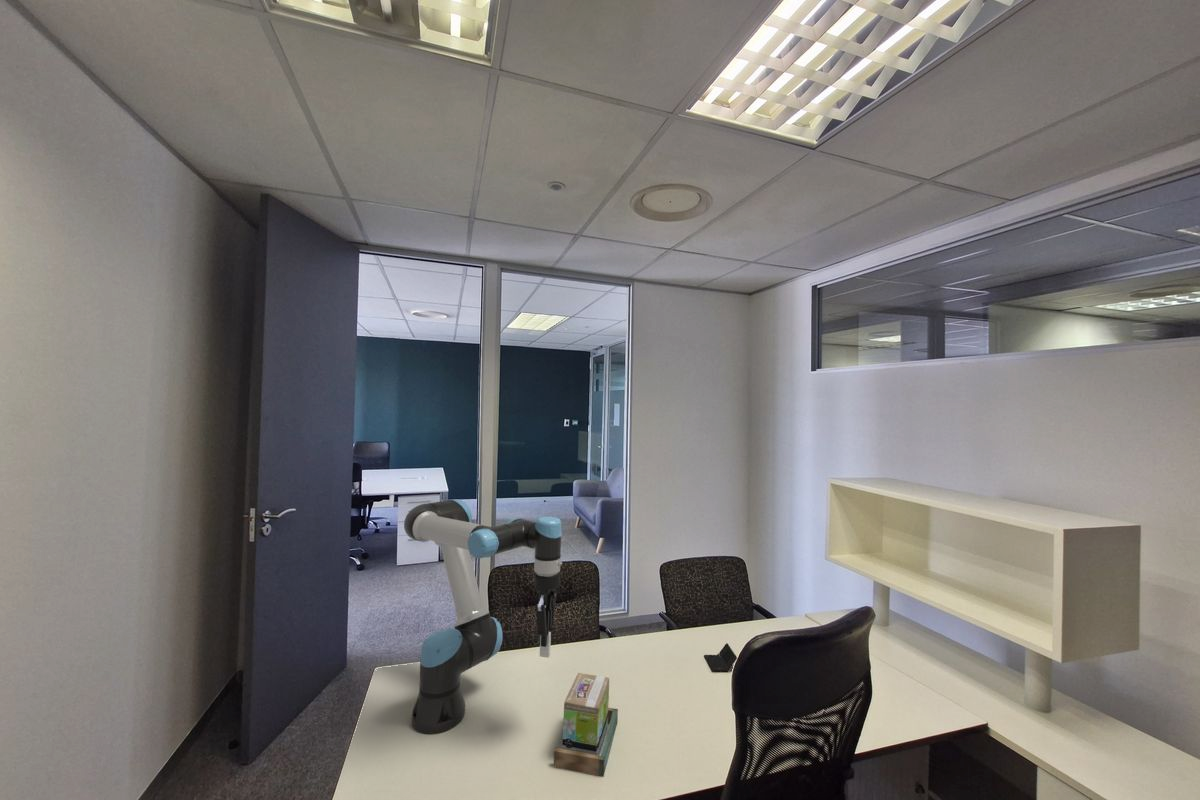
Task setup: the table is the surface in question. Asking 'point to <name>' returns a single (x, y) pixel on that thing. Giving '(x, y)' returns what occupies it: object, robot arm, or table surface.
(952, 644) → the table surface
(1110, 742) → the table surface
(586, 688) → the tea box
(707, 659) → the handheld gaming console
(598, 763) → the bay
